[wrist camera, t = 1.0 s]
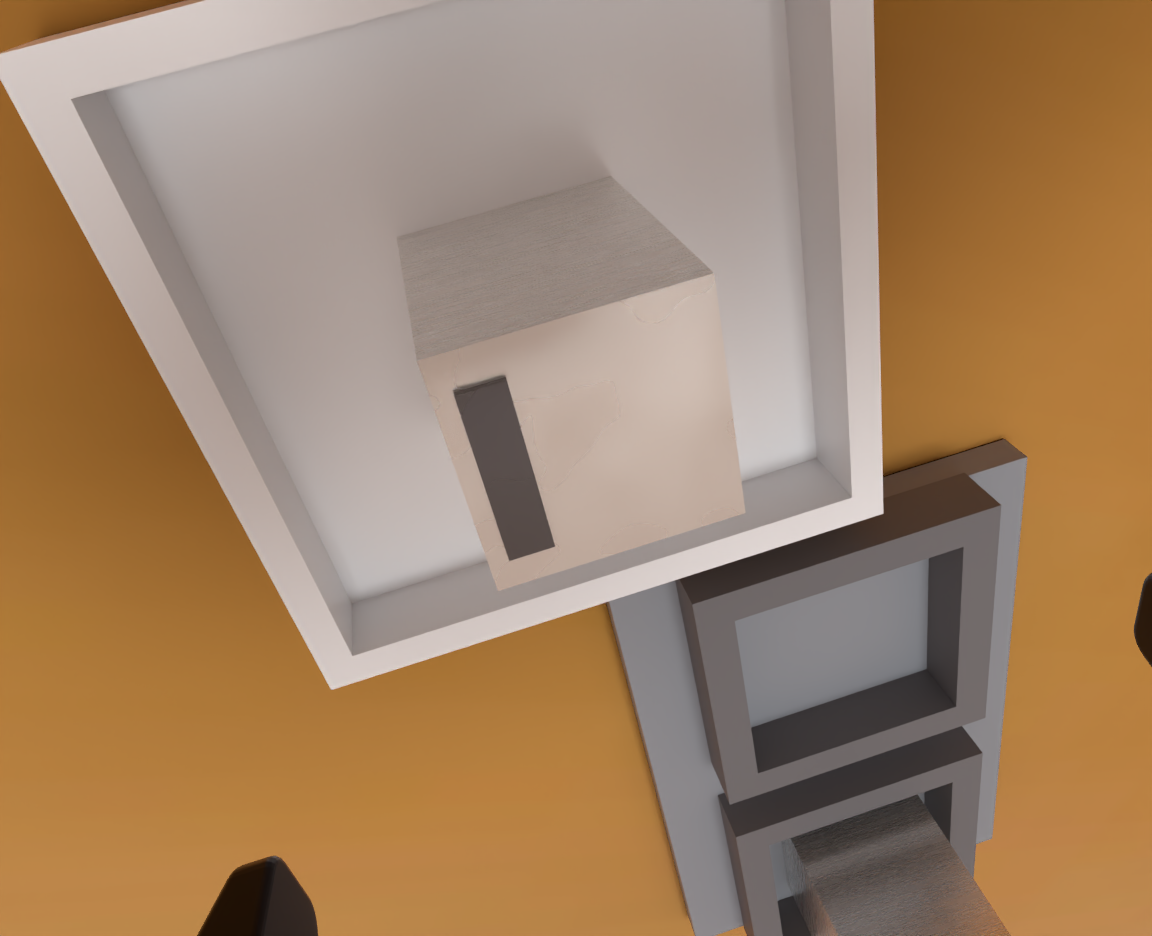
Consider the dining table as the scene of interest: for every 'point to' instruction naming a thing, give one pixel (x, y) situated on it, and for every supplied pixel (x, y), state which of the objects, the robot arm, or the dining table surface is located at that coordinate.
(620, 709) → the dining table surface
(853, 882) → the block
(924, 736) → the plate
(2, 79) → the white square tray
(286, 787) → the dining table surface
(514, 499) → the billet loose
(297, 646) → the dining table surface
